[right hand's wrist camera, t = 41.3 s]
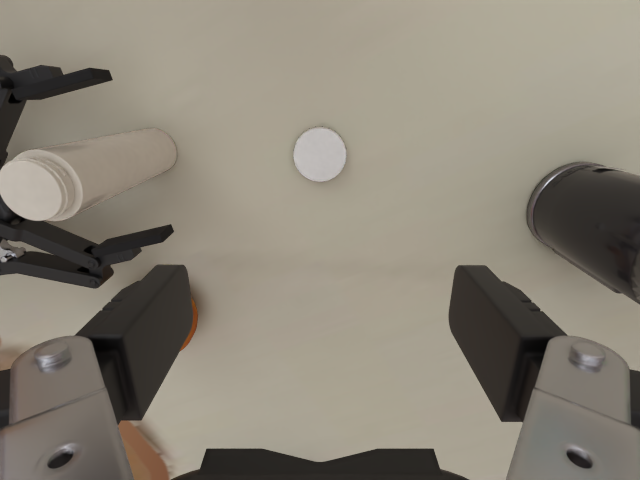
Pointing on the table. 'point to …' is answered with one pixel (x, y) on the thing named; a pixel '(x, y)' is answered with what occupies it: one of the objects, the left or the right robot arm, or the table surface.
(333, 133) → the lid
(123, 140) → the beige plastic cylinder
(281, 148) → the table surface
